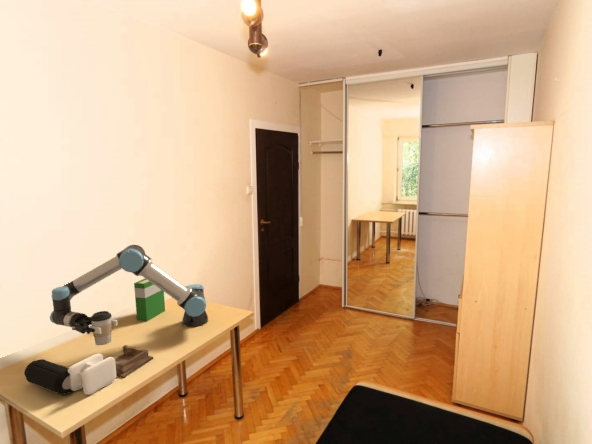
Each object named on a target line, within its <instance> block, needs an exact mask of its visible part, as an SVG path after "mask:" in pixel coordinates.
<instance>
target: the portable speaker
mask: <svg viewBox="0 0 592 444" xmlns="http://www.w3.org/2000/svg"><path fill="white" fill-rule="evenodd" d="M69 368H70V367H66V366H64V365H60V364H58V363H55V362H53V361H49V360H46V359H43V358H42V359H35V360H32V361H31V362H30V363H28V364H27V366H26V367H25V369H24V374H23V375H24V377H25V379H26V381H27V383H28V382H29V383H31V384H33V385H36V386H38V387H41V388H43V389H46V390H48V391H51V392H53V393H57V394H59V395H67V394H71V393H73V392H74V391H73V390H71V389H70V384H69V377H68V376H69V375H70V374H69V373H68V369H69Z"/></svg>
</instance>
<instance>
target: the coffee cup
mask: <svg viewBox="0 0 592 444" xmlns="http://www.w3.org/2000/svg"><path fill="white" fill-rule="evenodd" d="M90 317H91V322H92V325H91V326H94V327H99V328H101V334H98V333H93V332H92V335H93V337H94V342H95V345H96V346H103V345H108V344H110V343H111V342H112V327H113V326H112V325H111V319H112V313H111V312H109V311H108V310H107V311H106V310H102V311H98V312H97V311H96V312H94V313H93V314H92V315H91V316H90Z"/></svg>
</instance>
